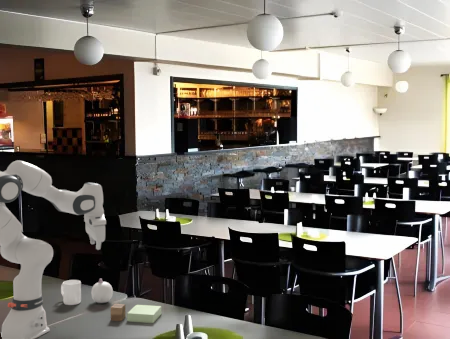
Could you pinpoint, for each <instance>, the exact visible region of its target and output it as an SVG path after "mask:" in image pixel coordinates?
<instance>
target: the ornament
mask: <svg viewBox="0 0 450 339" xmlns="http://www.w3.org/2000/svg"><path fill="white" fill-rule="evenodd" d="M90 291H91V294H90V295H91V298H92V300H93V301H94V302H95V303H97V304H106V303H108V302H109V301H110V300H111V299H112V298H113V294H114V290H113V287H112V285H111V284H110V283H109V282H107V281H103V278H99V279H98V282H96V283H95V284H93V285H92V287H91V290H90Z"/></svg>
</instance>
